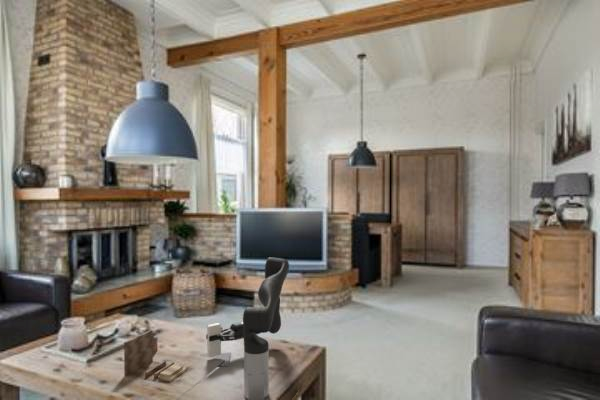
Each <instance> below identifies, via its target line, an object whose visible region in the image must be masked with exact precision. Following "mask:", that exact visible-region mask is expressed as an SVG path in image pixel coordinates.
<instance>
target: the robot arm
mask: <svg viewBox="0 0 600 400" xmlns="http://www.w3.org/2000/svg"><path fill="white" fill-rule="evenodd" d="M289 271H290V263H289V260H288V259H285V258H280V257H270V256H269V257H268V258H267V259H266V262H265V265H264V278H265V279H264V280H262V282H261V283H260V286H259V288H258V292H257V297H258V300H259V302H260V303H261V304H262V306H263V307H262V306H261V307H260V306H246V308H245V309H244V310H243V314H242V321H240V322H235V323H232V324H231V325H230V327H227V328H226V327H225V328H223V327H222V326H221V334H218V335H213V336H209V341H210V342H211V341H215V340H220V341H221V342H227V341H228V342H231V341H238V340H243V346H244V347H243V349H244V350H243V355H244V356H243V362H244V363H243V365H244V366H243V371H244V372H243V374H244V375H243V377H244V378H243V384H244V385H243V390H244V391H243V392H244V393H243V394H244V398H246V399H247V400H266V398H267V397H268V396H269V387H270V385H269V380H270V379H269V377H270V376H269V375H270V373H269V367H270V365H269V364H270V363H269V360H270V359H269V355H270V354H269V352H270V351H269V347H270V346H269V341H268V340H266V338H263V337H261V336H259V334H262V333H263V334H265V333H270V334H276V333H278V332H279V331H280V330H281V326H282V319H281V313H280V309H281V306H280V305H281V293H282V289H283V285H284V282H285V280H286V278H287V277H288V274H289ZM205 337H206V340H207V334H206V335H205Z"/></svg>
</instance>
